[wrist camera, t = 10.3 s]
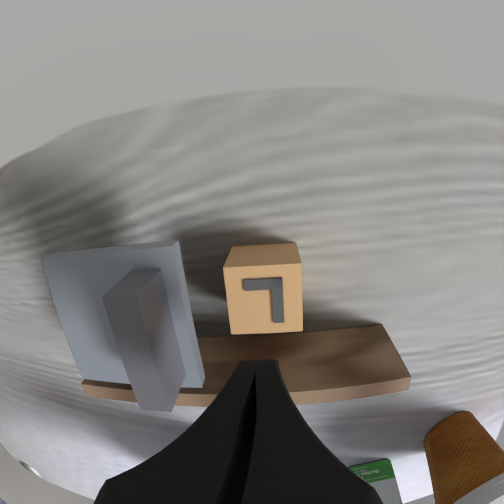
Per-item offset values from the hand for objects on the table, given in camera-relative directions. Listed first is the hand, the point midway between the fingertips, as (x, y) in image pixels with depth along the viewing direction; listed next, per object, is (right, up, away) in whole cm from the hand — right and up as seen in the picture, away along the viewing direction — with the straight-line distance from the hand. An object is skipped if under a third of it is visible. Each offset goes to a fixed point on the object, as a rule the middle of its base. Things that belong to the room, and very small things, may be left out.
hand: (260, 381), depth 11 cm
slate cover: (-7, +1, +6) cm, 9 cm away
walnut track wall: (-1, -2, +11) cm, 12 cm away
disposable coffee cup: (+21, -14, +14) cm, 29 cm away
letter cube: (+1, +3, +10) cm, 11 cm away
